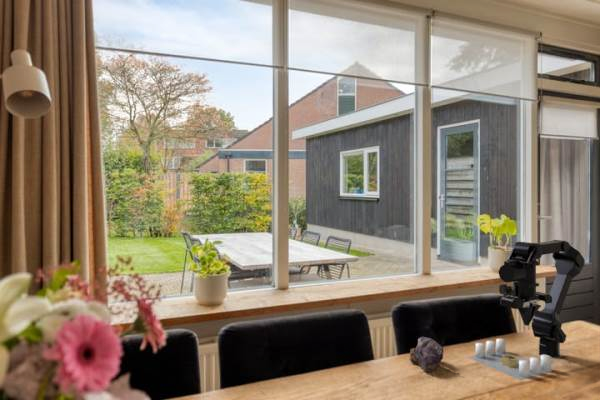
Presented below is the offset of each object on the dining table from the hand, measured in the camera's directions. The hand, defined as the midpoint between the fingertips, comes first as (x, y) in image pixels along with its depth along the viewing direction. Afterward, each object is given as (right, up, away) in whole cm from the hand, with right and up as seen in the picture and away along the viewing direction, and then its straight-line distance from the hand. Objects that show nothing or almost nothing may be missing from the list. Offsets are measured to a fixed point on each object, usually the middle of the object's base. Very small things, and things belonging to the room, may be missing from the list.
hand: (526, 325), depth 143 cm
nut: (-7, -12, -3) cm, 14 cm away
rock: (-34, -14, -2) cm, 36 cm away
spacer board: (-7, -13, -3) cm, 15 cm away
